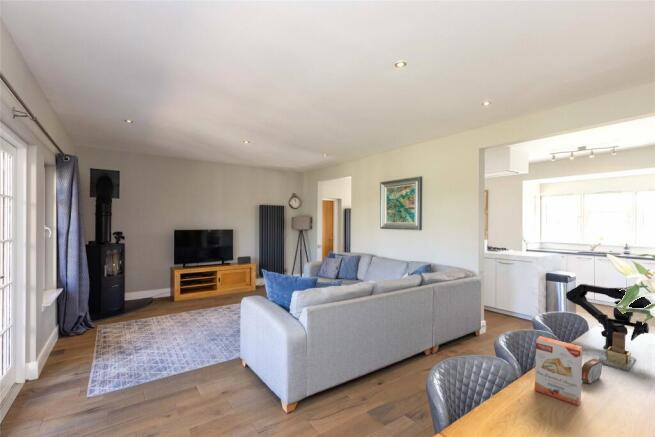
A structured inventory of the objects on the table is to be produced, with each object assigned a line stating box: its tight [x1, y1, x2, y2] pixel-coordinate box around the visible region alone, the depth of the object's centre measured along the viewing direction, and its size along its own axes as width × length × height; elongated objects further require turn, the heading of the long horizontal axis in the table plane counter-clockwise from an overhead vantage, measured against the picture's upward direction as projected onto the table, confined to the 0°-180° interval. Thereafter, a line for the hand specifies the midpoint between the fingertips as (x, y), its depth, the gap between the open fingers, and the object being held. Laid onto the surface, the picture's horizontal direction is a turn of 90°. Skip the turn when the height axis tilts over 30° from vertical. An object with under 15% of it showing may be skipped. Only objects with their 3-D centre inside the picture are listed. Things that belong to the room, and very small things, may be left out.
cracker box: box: [534, 335, 583, 407], centre depth 121 cm, size 14×6×21 cm, turn 44°
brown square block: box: [612, 332, 626, 354], centre depth 152 cm, size 4×4×12 cm
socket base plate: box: [597, 346, 637, 372], centre depth 152 cm, size 20×11×5 cm, turn 128°
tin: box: [581, 358, 603, 385], centre depth 133 cm, size 15×3×8 cm, turn 120°
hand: (618, 337), depth 153 cm, fingers open, 9 cm apart
